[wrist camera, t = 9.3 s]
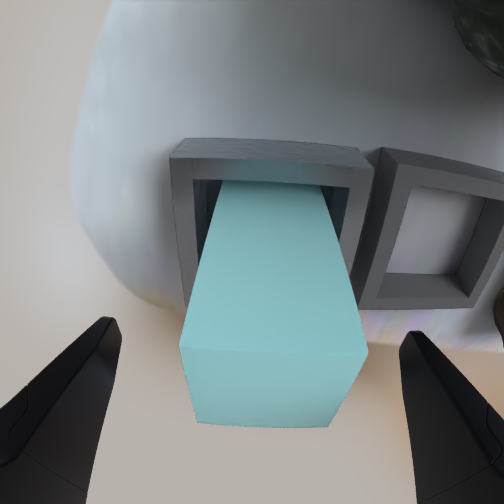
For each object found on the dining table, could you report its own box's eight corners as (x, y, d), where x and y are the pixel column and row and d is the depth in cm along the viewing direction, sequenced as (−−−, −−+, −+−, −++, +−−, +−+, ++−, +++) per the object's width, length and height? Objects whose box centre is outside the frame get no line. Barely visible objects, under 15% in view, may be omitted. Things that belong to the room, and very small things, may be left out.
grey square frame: (505, 173, 12) (526, 190, 11) (460, 285, 17) (472, 307, 15) (381, 146, 12) (398, 163, 11) (349, 283, 17) (356, 309, 15)
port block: (357, 148, 13) (374, 169, 11) (330, 279, 17) (338, 313, 15) (185, 138, 13) (169, 157, 11) (194, 272, 17) (185, 306, 15)
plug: (317, 179, 14) (368, 352, 6) (306, 254, 16) (328, 426, 9) (224, 174, 14) (178, 345, 6) (225, 249, 16) (197, 422, 9)
